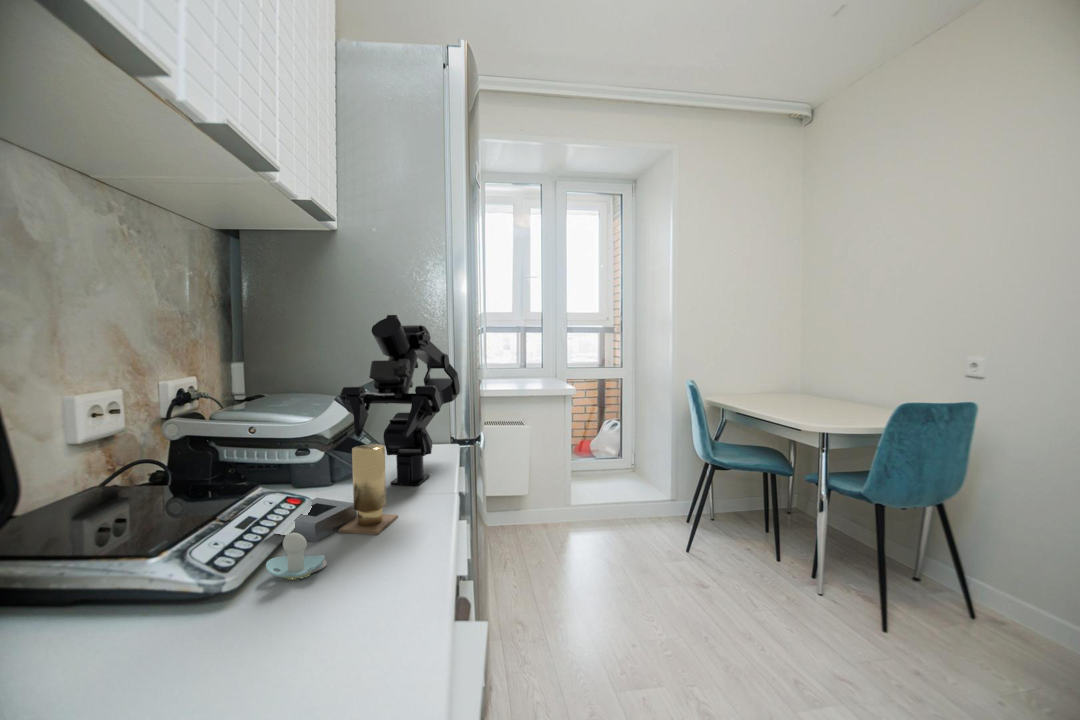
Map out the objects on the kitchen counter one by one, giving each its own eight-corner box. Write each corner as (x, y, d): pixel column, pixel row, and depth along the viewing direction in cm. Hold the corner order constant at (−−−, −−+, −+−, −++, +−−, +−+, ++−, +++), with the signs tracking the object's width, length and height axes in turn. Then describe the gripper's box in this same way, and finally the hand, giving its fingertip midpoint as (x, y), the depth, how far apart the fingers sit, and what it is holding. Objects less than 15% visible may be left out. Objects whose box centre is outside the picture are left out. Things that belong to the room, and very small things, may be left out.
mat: (361, 515, 83) (361, 512, 83) (398, 517, 82) (398, 514, 82) (338, 532, 76) (338, 529, 76) (378, 534, 75) (378, 531, 75)
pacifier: (283, 564, 67) (260, 585, 61) (282, 521, 67) (259, 538, 61) (335, 562, 67) (317, 583, 61) (334, 519, 67) (316, 536, 61)
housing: (317, 513, 84) (317, 497, 84) (357, 520, 81) (356, 503, 81) (273, 534, 76) (272, 516, 76) (315, 542, 73) (314, 523, 73)
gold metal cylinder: (357, 516, 81) (355, 444, 81) (388, 514, 82) (386, 443, 82) (351, 529, 76) (349, 452, 76) (384, 526, 77) (382, 450, 76)
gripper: (341, 345, 91) (314, 411, 80) (436, 344, 90) (421, 410, 80) (359, 381, 99) (337, 444, 89) (446, 380, 99) (434, 444, 88)
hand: (381, 435), depth 86 cm, fingers open, 9 cm apart
